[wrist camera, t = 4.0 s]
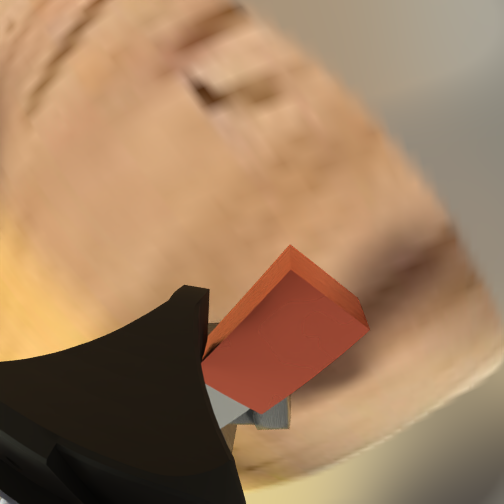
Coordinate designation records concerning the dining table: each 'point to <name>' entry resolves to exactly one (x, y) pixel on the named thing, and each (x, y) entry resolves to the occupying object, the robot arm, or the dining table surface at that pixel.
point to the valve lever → (279, 337)
